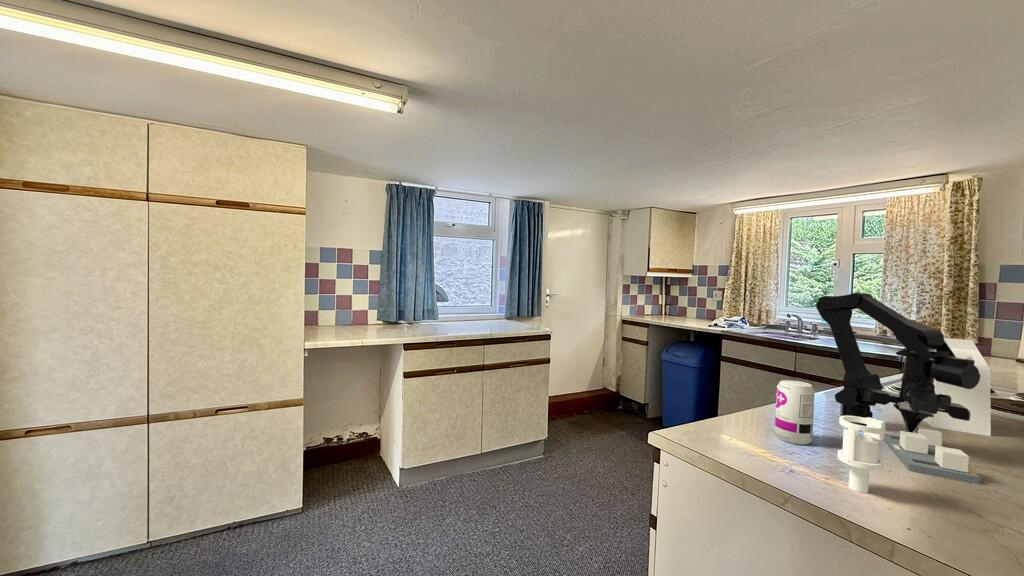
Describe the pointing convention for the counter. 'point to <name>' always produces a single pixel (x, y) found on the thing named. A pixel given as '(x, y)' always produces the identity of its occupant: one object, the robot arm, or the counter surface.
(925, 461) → the switch bank
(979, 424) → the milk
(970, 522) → the counter surface
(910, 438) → the middle tab
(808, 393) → the supplement can
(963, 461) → the near tab
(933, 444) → the cream cube
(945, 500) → the counter surface
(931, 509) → the counter surface
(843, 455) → the white cylindrical holder
